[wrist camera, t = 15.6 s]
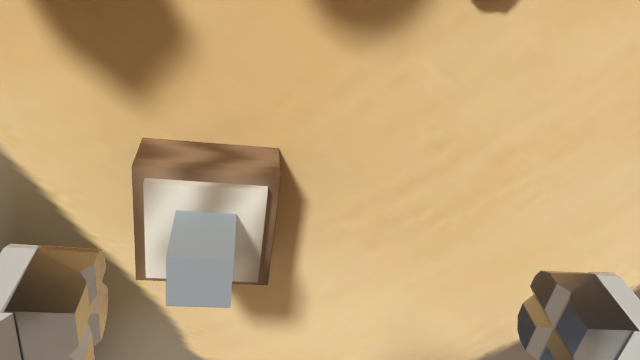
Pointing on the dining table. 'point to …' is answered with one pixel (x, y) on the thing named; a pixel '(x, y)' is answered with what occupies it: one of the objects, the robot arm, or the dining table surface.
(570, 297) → the robot arm
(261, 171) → the walnut block
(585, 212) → the dining table surface
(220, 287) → the slate block
